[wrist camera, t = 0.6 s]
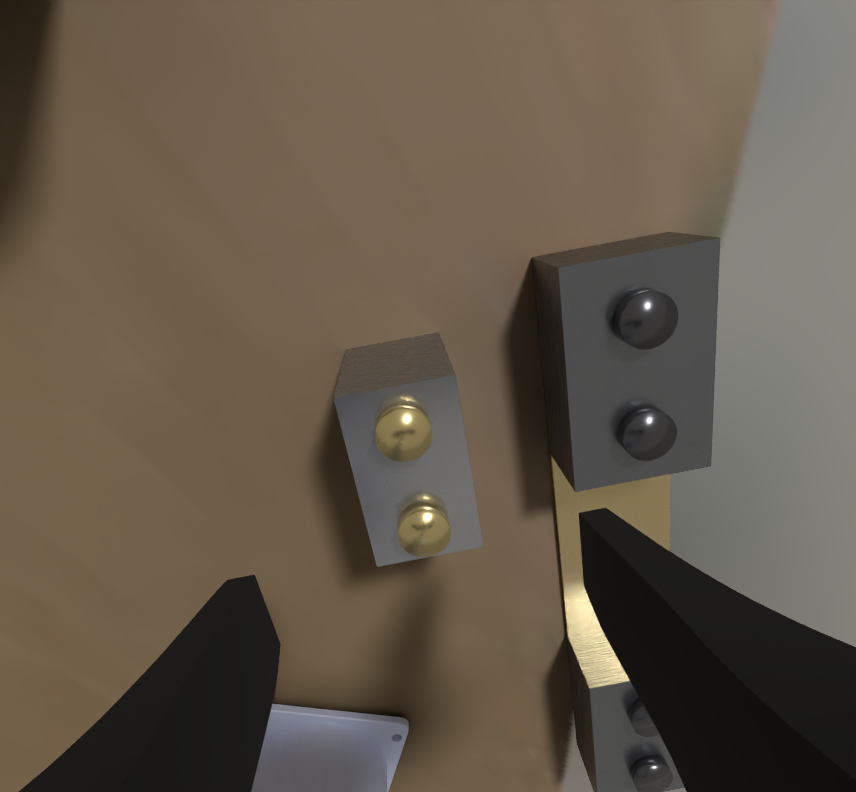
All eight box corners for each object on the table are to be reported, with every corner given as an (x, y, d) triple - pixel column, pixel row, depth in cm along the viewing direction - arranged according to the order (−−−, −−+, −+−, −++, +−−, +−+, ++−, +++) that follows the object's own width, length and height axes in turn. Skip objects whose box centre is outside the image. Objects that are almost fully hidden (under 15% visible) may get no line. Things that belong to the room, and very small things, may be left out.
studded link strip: (666, 725, 28) (705, 798, 24) (576, 743, 28) (603, 818, 24) (669, 232, 18) (732, 239, 15) (532, 257, 18) (565, 270, 15)
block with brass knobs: (461, 470, 21) (486, 558, 16) (378, 486, 21) (376, 579, 16) (438, 331, 19) (458, 381, 14) (345, 348, 19) (331, 405, 14)
